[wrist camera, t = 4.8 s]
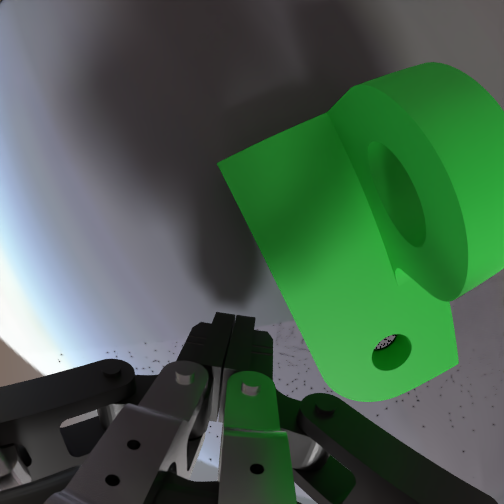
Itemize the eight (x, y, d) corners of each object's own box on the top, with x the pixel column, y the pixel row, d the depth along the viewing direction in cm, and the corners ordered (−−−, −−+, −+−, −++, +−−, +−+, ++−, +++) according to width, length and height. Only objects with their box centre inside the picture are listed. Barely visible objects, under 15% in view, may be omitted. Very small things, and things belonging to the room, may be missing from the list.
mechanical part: (225, 164, 12) (147, 155, 4) (361, 104, 11) (475, 29, 3) (336, 393, 14) (366, 528, 7) (441, 343, 13) (522, 448, 6)
